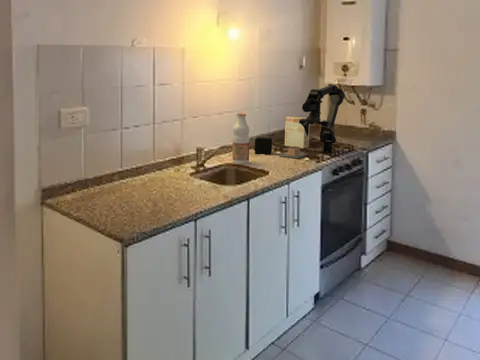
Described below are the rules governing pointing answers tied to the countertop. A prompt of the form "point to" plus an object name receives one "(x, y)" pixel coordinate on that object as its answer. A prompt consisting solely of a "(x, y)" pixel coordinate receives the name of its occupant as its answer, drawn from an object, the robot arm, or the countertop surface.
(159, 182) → the countertop surface
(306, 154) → the pad
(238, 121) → the fruit juice
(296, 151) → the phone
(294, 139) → the coffeecake box
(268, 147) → the electronic device
